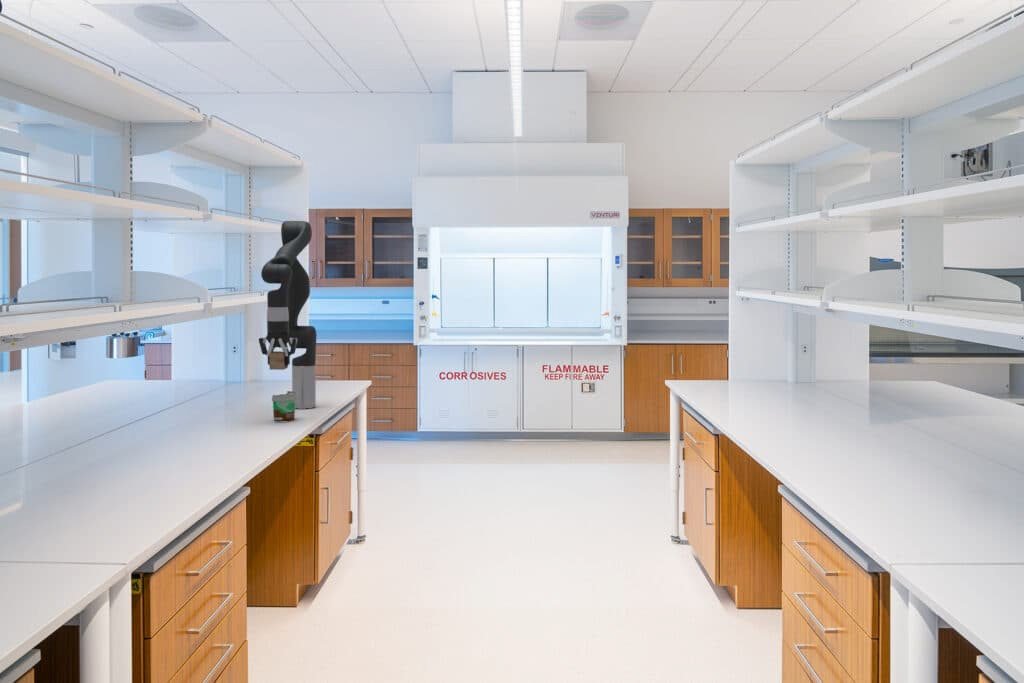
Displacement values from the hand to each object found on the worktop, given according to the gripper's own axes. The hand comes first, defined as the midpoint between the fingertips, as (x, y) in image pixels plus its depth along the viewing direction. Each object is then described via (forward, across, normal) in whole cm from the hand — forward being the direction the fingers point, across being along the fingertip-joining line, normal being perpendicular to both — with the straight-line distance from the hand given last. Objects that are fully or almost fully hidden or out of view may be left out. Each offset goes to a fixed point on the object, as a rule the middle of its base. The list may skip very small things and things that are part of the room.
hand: (278, 365), depth 286 cm
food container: (+21, -2, -2) cm, 21 cm away
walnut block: (+1, 0, 0) cm, 1 cm away
